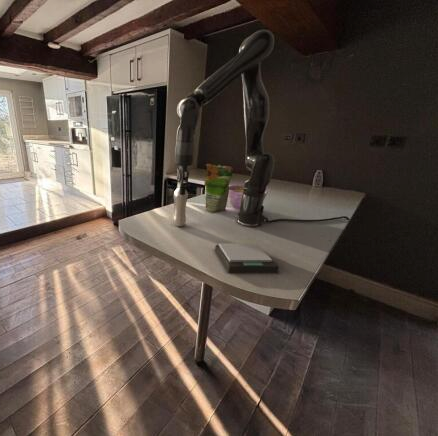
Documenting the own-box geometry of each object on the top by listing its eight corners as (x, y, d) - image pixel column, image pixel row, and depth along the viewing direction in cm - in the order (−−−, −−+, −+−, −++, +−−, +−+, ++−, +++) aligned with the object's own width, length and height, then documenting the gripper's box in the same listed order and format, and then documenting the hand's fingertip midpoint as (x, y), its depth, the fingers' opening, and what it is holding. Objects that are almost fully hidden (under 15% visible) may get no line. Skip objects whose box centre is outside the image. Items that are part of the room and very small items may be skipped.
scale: (256, 250, 87) (258, 242, 86) (277, 272, 74) (279, 264, 73) (214, 250, 86) (216, 242, 85) (228, 272, 73) (229, 264, 72)
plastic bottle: (186, 223, 109) (190, 181, 102) (183, 228, 103) (187, 185, 96) (173, 221, 111) (176, 180, 104) (169, 226, 105) (172, 183, 98)
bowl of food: (267, 217, 119) (273, 195, 114) (227, 214, 121) (231, 193, 117) (257, 205, 137) (261, 186, 132) (222, 202, 140) (225, 183, 135)
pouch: (228, 213, 123) (236, 165, 114) (207, 213, 122) (213, 165, 112) (219, 206, 133) (226, 162, 124) (199, 206, 132) (205, 162, 122)
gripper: (197, 155, 88) (193, 197, 95) (189, 151, 102) (186, 188, 108) (178, 155, 88) (174, 197, 94) (172, 150, 101) (170, 188, 108)
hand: (181, 192), depth 101 cm, fingers closed on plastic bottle, 6 cm apart
